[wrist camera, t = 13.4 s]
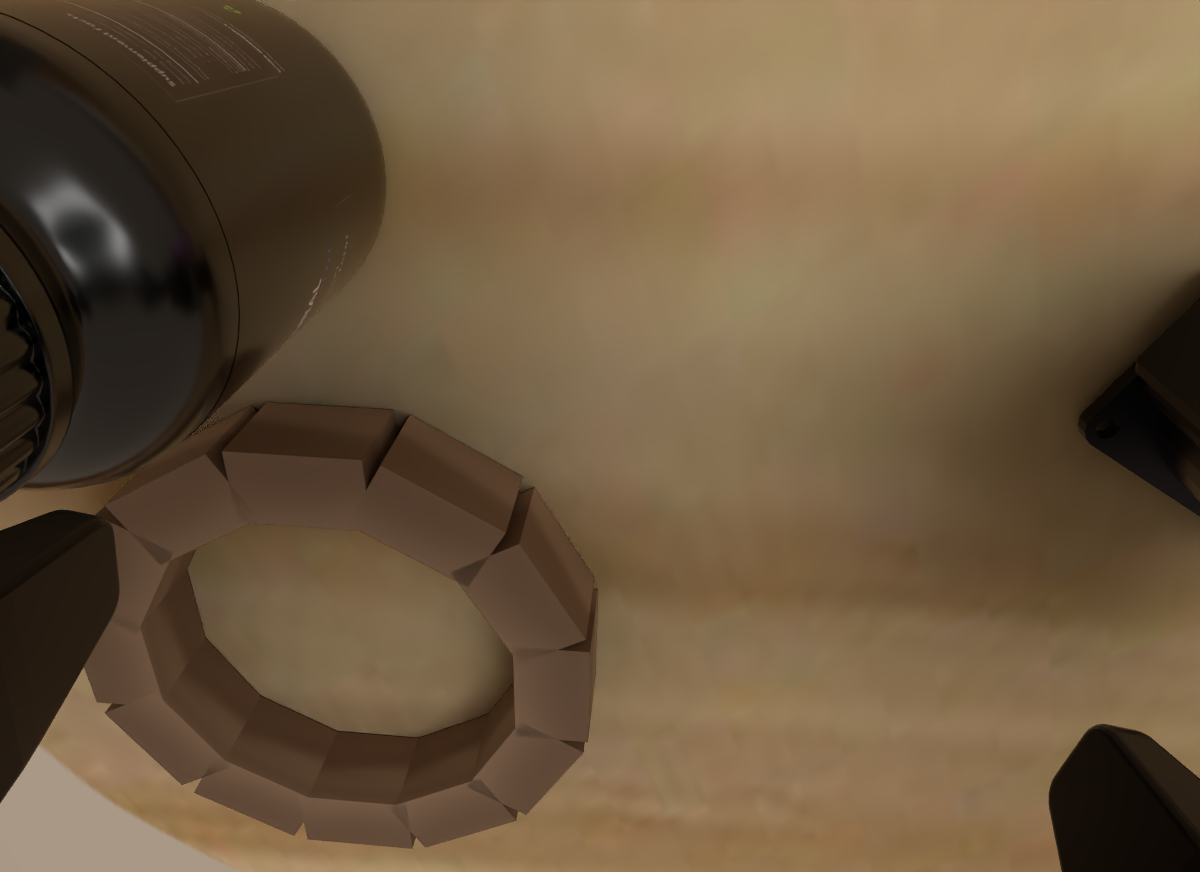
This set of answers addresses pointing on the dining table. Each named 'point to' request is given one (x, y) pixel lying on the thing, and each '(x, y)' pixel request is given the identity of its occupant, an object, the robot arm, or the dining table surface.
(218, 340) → the supplement bottle
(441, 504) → the segmented ring
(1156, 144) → the dining table surface
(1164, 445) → the robot arm
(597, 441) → the dining table surface
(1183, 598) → the dining table surface
